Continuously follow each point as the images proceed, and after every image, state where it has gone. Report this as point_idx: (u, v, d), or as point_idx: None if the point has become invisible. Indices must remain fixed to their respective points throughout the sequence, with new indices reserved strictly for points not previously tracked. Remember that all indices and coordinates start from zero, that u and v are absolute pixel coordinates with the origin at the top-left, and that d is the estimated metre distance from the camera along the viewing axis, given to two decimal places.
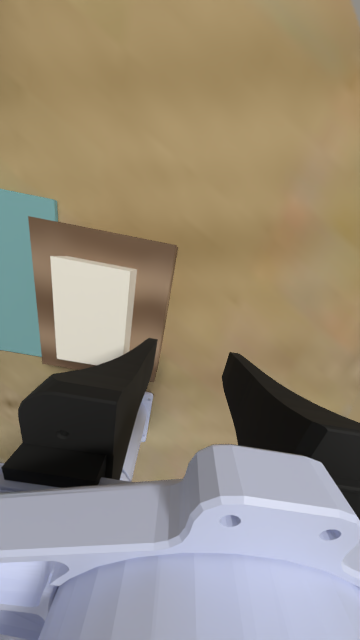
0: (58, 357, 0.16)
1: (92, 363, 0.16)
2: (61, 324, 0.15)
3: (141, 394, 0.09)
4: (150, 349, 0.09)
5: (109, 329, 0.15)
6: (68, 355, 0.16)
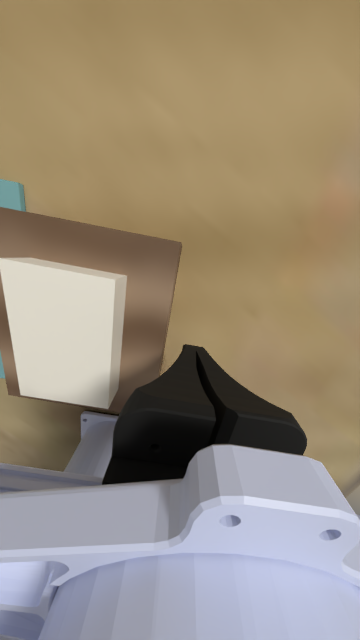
0: (22, 393, 0.12)
1: (67, 401, 0.12)
2: (22, 352, 0.11)
3: None
4: (195, 357, 0.09)
5: (89, 358, 0.11)
6: (35, 391, 0.12)
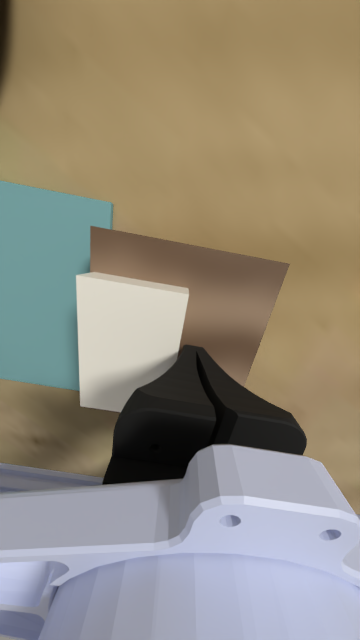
0: (82, 404, 0.12)
1: None
2: (87, 364, 0.11)
3: None
4: (195, 357, 0.09)
5: (153, 370, 0.11)
6: (95, 402, 0.12)
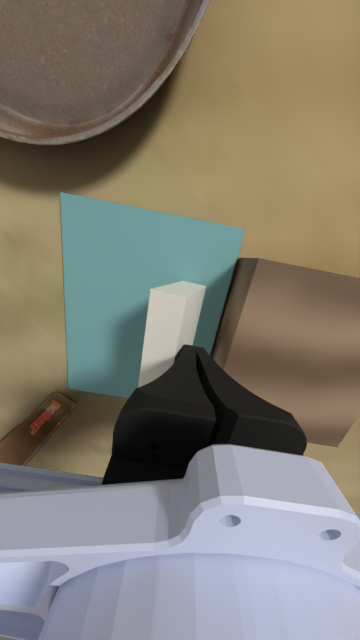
0: None
1: None
2: None
3: None
4: (195, 357, 0.09)
5: None
6: None
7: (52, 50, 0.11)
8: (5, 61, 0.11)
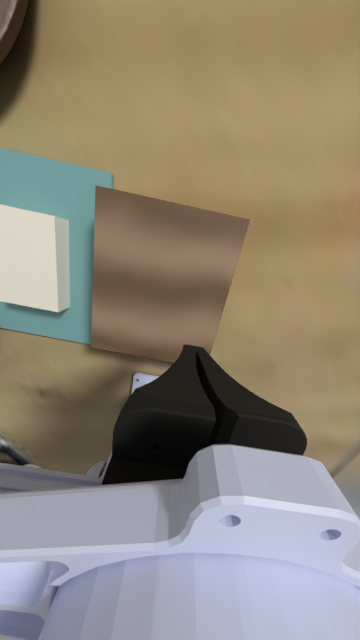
0: None
1: None
2: None
3: None
4: (195, 357, 0.09)
5: None
6: None
7: None
8: None
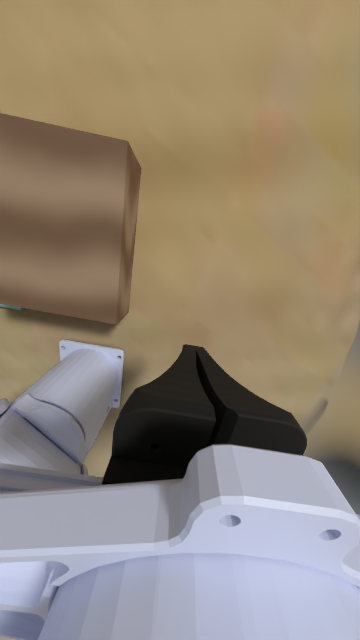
0: None
1: None
2: None
3: None
4: (195, 357, 0.09)
5: None
6: None
7: None
8: None
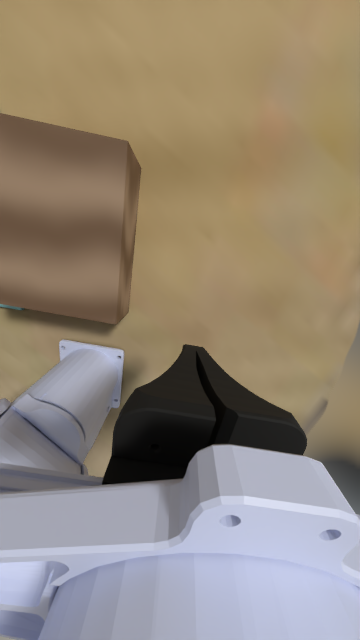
0: None
1: None
2: None
3: None
4: (195, 357, 0.09)
5: None
6: None
7: None
8: None
